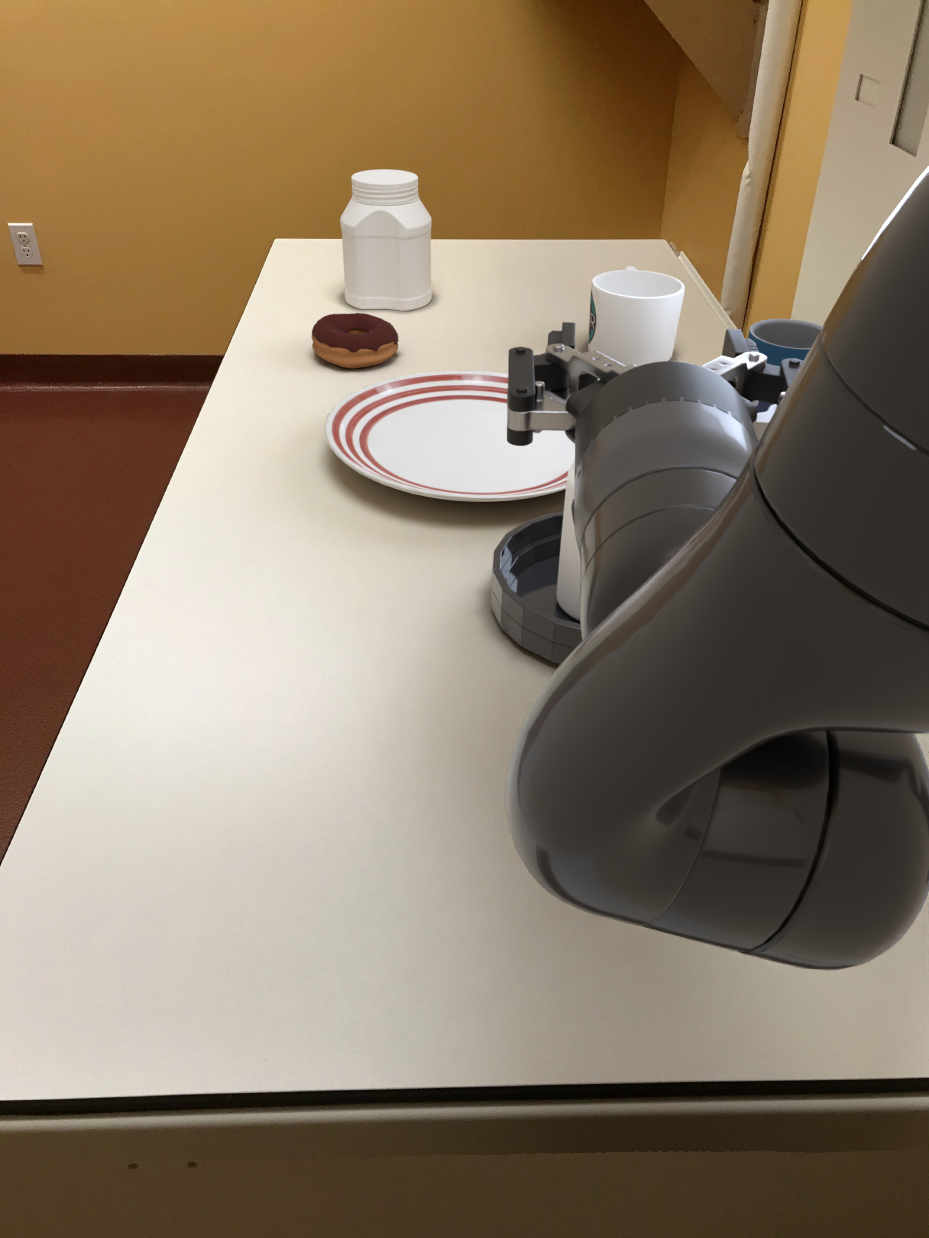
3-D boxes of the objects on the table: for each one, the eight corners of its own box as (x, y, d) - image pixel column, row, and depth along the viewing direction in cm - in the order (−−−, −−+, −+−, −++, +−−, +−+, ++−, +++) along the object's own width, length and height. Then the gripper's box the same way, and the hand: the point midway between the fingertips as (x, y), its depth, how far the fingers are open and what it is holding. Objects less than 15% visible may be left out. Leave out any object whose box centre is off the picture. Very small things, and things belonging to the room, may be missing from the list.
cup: (704, 503, 84) (736, 336, 75) (734, 474, 89) (767, 312, 80) (779, 527, 81) (822, 355, 72) (806, 495, 86) (849, 330, 77)
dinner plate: (530, 380, 106) (532, 350, 104) (676, 490, 86) (682, 457, 84) (289, 422, 96) (286, 391, 94) (392, 558, 76) (391, 522, 74)
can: (544, 617, 69) (556, 468, 62) (569, 571, 74) (584, 428, 67) (632, 638, 67) (655, 487, 60) (652, 590, 72) (675, 445, 65)
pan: (615, 530, 80) (620, 490, 78) (758, 630, 69) (769, 587, 67) (450, 587, 73) (450, 544, 71) (581, 708, 62) (586, 662, 60)
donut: (406, 368, 108) (405, 334, 105) (318, 375, 106) (315, 340, 103) (390, 337, 116) (389, 304, 113) (308, 343, 114) (305, 309, 111)
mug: (681, 371, 108) (692, 299, 104) (588, 369, 108) (595, 297, 104) (664, 329, 119) (673, 263, 114) (579, 327, 119) (585, 261, 115)
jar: (339, 308, 123) (331, 183, 115) (351, 285, 131) (344, 166, 122) (428, 312, 123) (427, 187, 114) (434, 288, 131) (434, 169, 122)
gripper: (879, 412, 35) (799, 276, 48) (492, 395, 36) (516, 266, 49) (831, 581, 40) (770, 415, 53) (488, 561, 41) (511, 403, 54)
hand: (647, 343), depth 51 cm, fingers open, 8 cm apart
